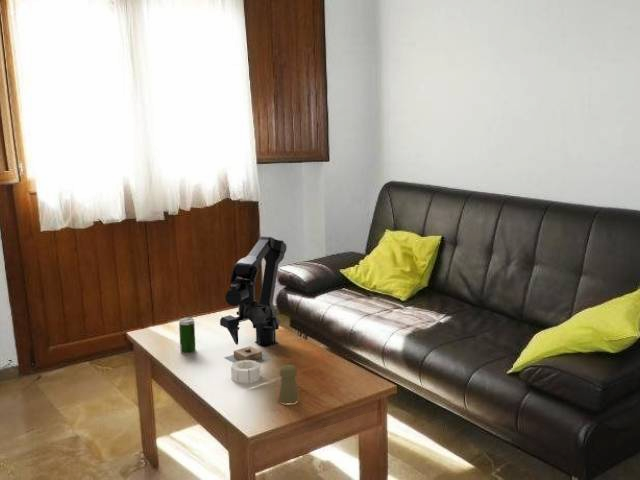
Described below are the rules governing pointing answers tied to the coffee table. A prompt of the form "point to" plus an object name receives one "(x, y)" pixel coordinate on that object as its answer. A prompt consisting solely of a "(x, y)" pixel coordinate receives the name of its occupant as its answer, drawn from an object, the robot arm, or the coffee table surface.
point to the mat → (264, 358)
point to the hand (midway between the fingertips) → (247, 341)
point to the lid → (248, 354)
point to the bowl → (245, 371)
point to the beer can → (187, 335)
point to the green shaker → (288, 384)
